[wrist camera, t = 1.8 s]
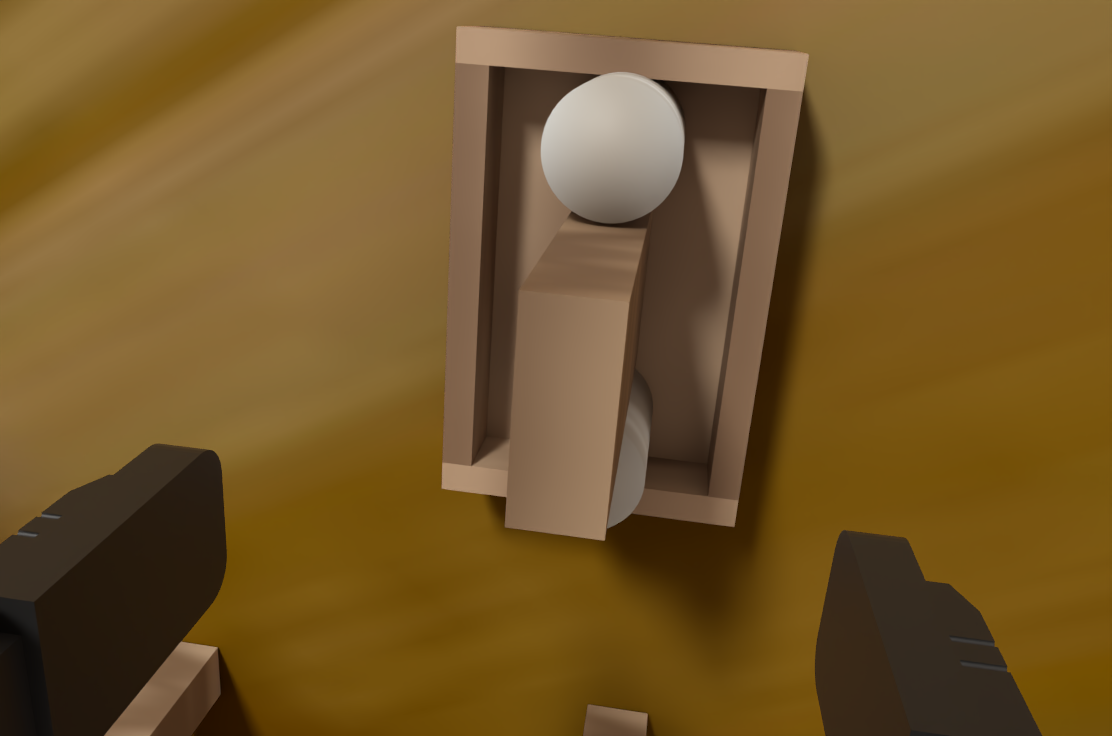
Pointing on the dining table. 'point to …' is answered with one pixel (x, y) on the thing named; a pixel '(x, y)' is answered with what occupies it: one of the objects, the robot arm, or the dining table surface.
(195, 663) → the stool
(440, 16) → the dining table surface
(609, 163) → the caddy
